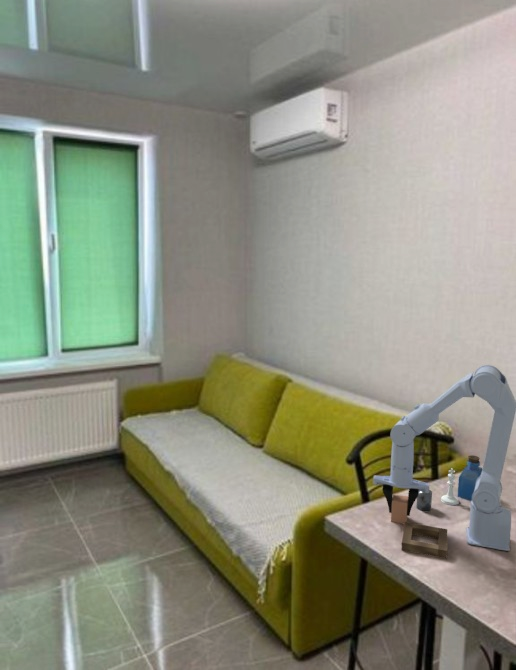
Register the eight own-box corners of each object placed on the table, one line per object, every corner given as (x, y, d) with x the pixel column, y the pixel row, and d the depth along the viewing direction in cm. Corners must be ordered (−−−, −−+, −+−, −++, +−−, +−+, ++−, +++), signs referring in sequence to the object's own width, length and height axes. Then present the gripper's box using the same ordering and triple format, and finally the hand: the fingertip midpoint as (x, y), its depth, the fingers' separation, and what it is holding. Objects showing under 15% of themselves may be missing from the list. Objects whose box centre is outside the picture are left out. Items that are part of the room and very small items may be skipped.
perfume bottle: (463, 489, 160) (465, 451, 158) (484, 494, 156) (487, 456, 154) (457, 496, 155) (460, 458, 153) (479, 502, 151) (482, 463, 149)
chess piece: (460, 505, 149) (462, 472, 147) (442, 504, 150) (444, 471, 148) (457, 498, 154) (459, 466, 152) (439, 496, 155) (441, 464, 153)
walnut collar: (446, 536, 133) (447, 529, 132) (446, 558, 123) (447, 550, 123) (404, 529, 136) (405, 521, 136) (401, 550, 126) (401, 542, 126)
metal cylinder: (431, 506, 149) (432, 489, 148) (430, 512, 145) (431, 495, 144) (416, 503, 150) (417, 487, 149) (416, 510, 146) (416, 493, 146)
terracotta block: (407, 517, 142) (408, 496, 141) (406, 524, 139) (407, 503, 138) (392, 514, 144) (393, 494, 143) (390, 521, 140) (391, 500, 139)
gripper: (430, 463, 140) (428, 510, 142) (376, 456, 145) (374, 501, 147) (430, 473, 133) (427, 522, 136) (372, 465, 138) (370, 513, 140)
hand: (399, 512), depth 141 cm, fingers closed on terracotta block, 4 cm apart
